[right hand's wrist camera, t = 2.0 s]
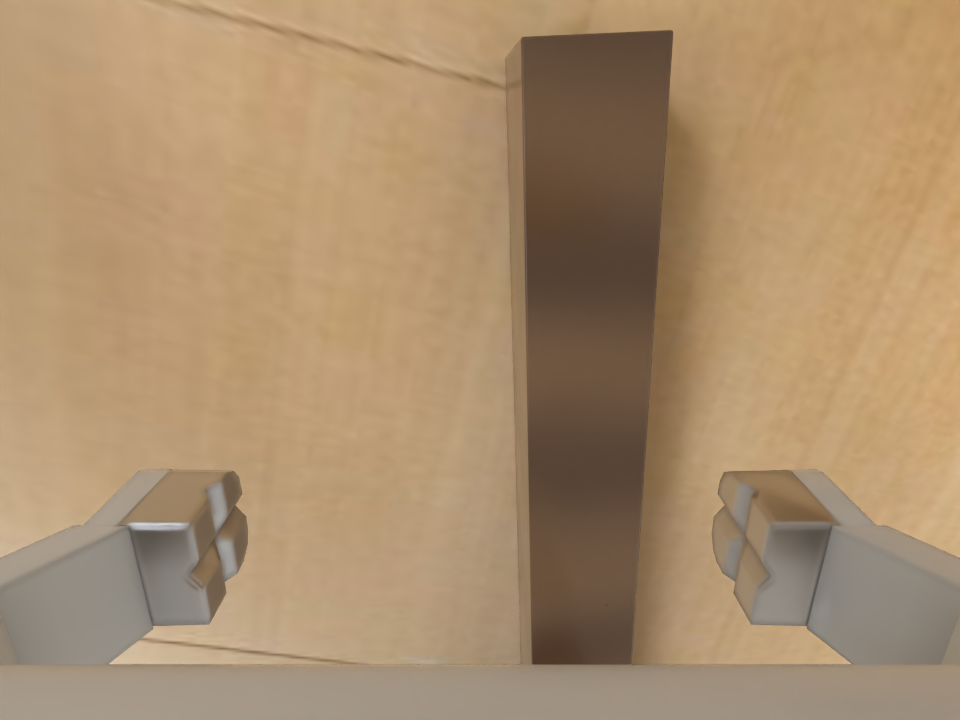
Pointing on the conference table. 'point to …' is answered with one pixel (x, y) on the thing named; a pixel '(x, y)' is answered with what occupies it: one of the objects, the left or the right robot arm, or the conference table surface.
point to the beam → (583, 328)
